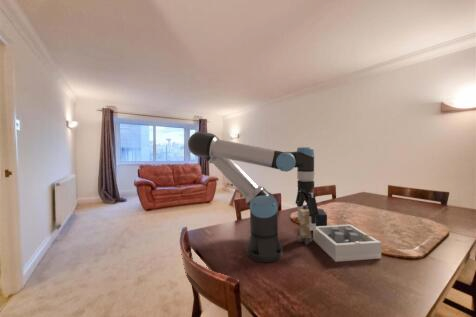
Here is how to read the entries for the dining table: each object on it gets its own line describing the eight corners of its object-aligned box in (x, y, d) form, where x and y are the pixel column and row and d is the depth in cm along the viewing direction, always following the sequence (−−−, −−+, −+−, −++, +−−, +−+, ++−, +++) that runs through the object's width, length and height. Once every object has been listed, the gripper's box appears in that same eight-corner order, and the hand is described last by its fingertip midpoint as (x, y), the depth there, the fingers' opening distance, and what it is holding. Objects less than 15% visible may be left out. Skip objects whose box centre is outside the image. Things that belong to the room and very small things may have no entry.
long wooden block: (300, 244, 93) (300, 212, 92) (297, 238, 99) (296, 208, 98) (313, 243, 93) (313, 212, 92) (309, 238, 99) (309, 208, 98)
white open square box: (335, 261, 78) (335, 244, 78) (313, 239, 97) (313, 225, 97) (381, 258, 80) (381, 241, 79) (350, 237, 99) (350, 223, 98)
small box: (327, 235, 102) (327, 214, 101) (314, 234, 103) (314, 214, 103) (323, 227, 112) (323, 208, 112) (311, 226, 114) (311, 208, 113)
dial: (369, 251, 81) (370, 238, 80) (332, 249, 83) (332, 236, 83) (357, 237, 93) (357, 226, 93) (324, 235, 96) (324, 224, 96)
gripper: (327, 184, 82) (327, 234, 83) (302, 176, 107) (303, 215, 108) (309, 185, 82) (310, 236, 83) (289, 176, 106) (289, 215, 108)
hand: (306, 224), depth 95 cm, fingers open, 13 cm apart
